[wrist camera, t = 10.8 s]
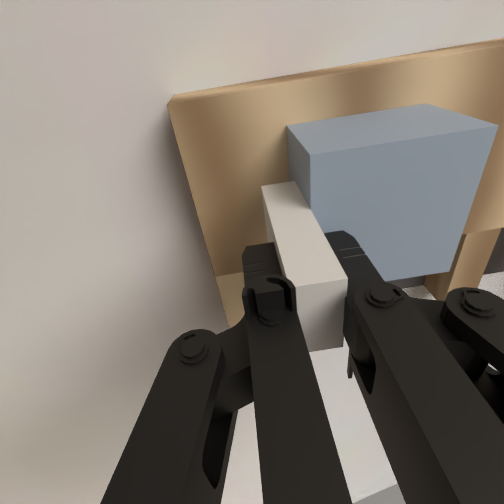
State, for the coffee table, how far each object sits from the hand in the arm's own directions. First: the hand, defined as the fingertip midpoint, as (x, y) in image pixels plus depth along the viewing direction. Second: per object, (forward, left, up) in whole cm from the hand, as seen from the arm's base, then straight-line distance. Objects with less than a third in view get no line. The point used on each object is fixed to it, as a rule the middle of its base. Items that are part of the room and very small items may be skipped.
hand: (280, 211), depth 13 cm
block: (+3, +2, -1) cm, 4 cm away
